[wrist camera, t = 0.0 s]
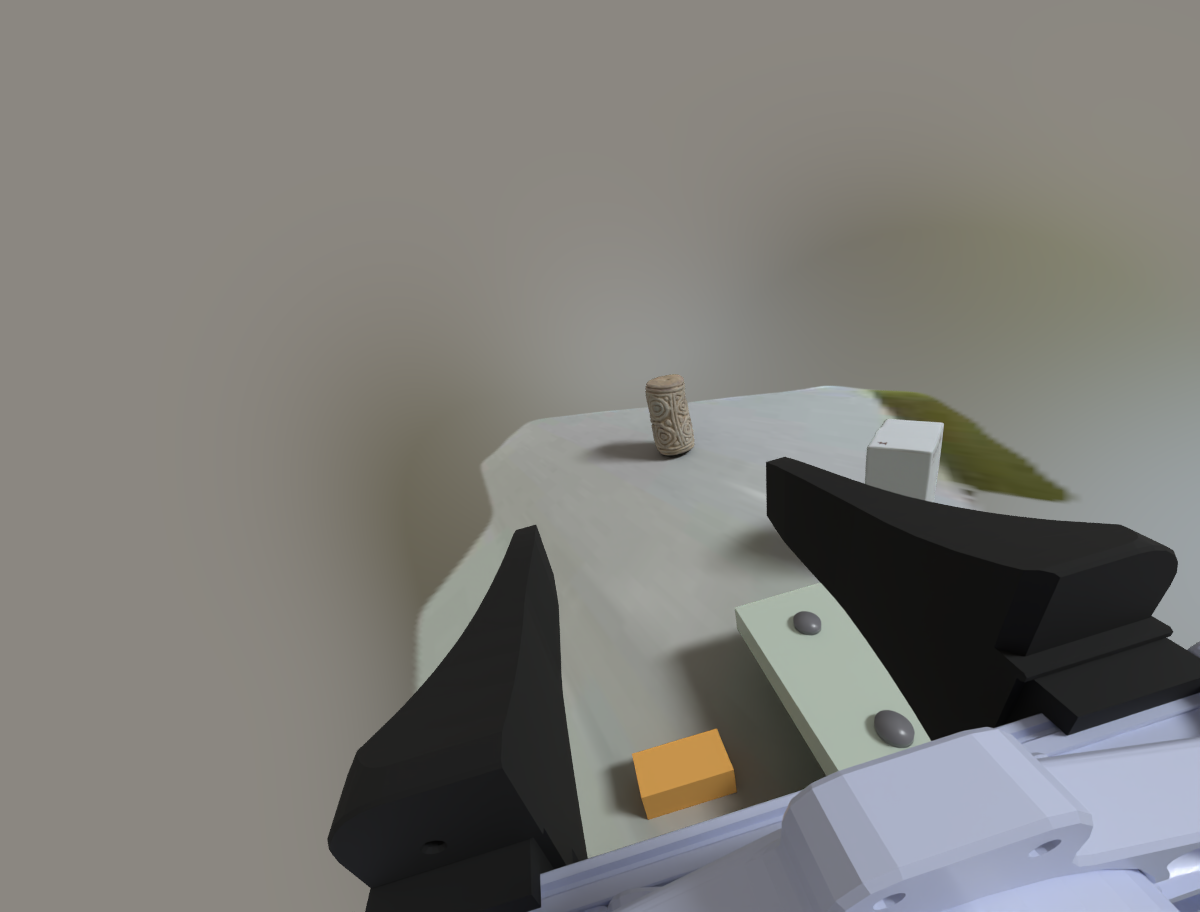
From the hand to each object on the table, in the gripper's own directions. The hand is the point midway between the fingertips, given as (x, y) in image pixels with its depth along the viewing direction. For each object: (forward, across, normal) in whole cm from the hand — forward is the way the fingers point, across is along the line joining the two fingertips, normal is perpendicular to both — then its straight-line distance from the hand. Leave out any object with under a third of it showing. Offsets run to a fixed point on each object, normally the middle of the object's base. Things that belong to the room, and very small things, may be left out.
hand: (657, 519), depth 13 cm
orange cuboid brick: (+2, 0, +22) cm, 22 cm away
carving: (+48, -14, +26) cm, 56 cm away
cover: (+2, -10, +22) cm, 24 cm away
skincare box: (+15, -24, +23) cm, 37 cm away
